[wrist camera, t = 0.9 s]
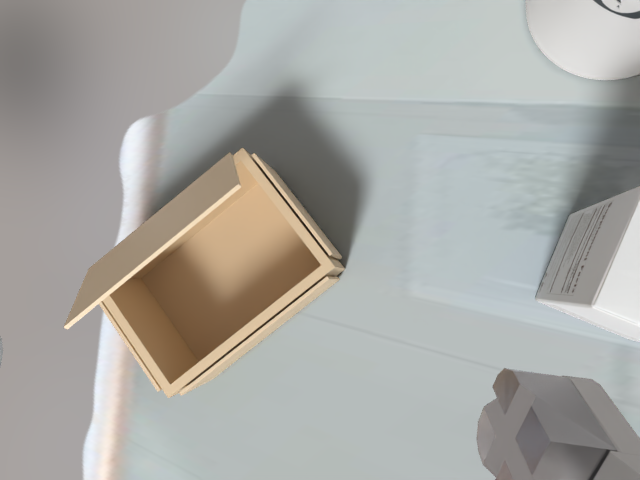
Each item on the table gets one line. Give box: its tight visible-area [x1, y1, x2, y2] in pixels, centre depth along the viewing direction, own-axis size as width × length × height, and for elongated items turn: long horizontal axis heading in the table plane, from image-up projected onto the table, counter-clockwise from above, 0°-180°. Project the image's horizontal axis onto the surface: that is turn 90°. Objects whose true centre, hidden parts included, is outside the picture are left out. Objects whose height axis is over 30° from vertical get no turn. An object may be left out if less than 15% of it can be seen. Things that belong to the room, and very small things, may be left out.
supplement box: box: [535, 186, 640, 342], centre depth 39 cm, size 9×9×15 cm
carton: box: [99, 148, 345, 398], centre depth 47 cm, size 19×14×8 cm
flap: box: [64, 152, 241, 329], centre depth 40 cm, size 16×1×10 cm
